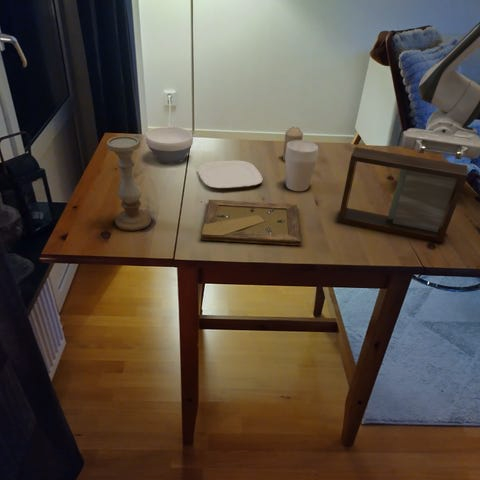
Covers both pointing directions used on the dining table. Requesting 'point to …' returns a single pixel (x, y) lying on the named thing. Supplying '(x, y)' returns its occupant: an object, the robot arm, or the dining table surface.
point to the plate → (229, 174)
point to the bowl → (169, 143)
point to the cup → (300, 164)
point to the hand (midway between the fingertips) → (440, 153)
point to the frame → (410, 195)
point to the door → (397, 193)
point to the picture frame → (251, 222)
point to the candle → (291, 137)
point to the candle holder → (128, 185)
